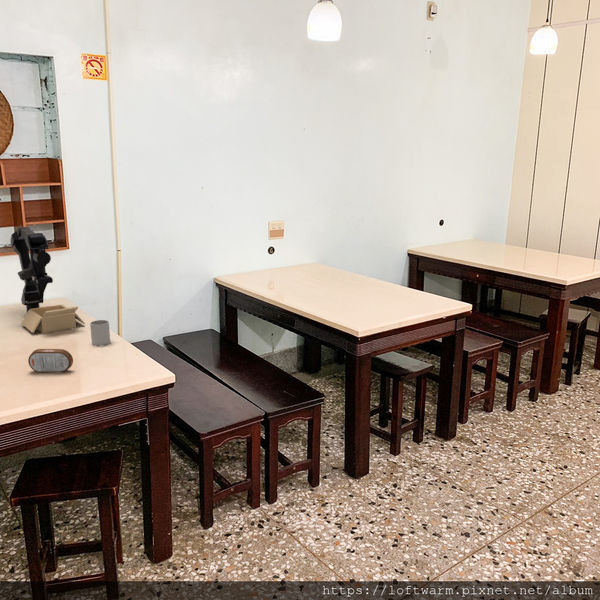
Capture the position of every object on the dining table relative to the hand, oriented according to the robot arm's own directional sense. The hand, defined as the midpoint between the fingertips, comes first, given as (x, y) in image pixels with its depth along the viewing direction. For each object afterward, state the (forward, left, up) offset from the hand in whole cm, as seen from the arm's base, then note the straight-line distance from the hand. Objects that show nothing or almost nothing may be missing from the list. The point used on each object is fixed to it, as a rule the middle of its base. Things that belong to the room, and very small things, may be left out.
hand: (41, 295), depth 268 cm
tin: (+64, -16, -13) cm, 67 cm away
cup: (+42, +10, -13) cm, 45 cm away
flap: (+19, +2, -4) cm, 20 cm away
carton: (+5, +2, -13) cm, 14 cm away
